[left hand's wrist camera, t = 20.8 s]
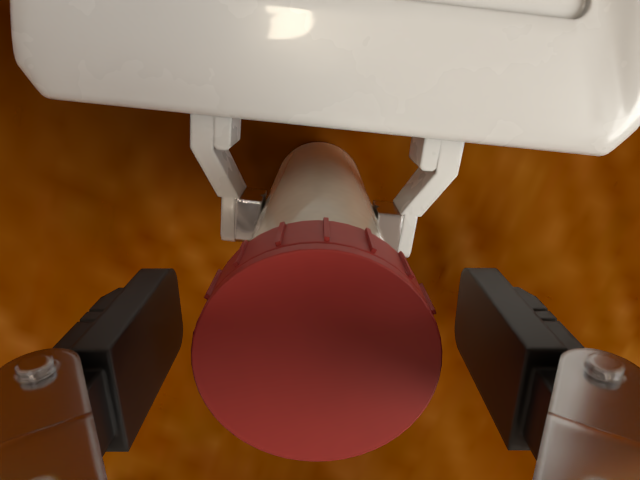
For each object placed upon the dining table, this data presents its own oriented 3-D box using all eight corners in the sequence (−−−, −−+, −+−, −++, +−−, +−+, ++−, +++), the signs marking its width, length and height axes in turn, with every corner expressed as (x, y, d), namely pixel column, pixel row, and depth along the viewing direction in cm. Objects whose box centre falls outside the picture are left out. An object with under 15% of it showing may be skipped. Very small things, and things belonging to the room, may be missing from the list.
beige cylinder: (296, 234, 25) (267, 448, 11) (263, 161, 23) (178, 296, 9) (371, 205, 24) (444, 390, 10) (341, 128, 23) (377, 219, 9)
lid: (384, 180, 10) (398, 203, 8) (453, 370, 11) (476, 422, 10) (168, 264, 10) (139, 302, 9) (264, 432, 12) (254, 490, 10)
